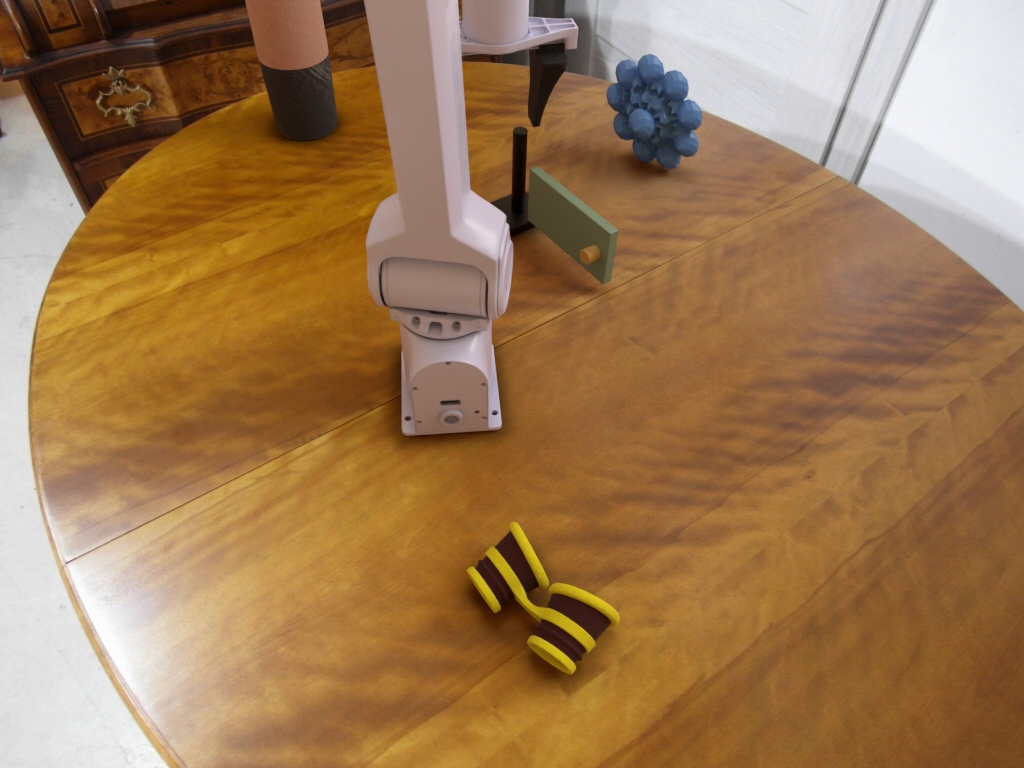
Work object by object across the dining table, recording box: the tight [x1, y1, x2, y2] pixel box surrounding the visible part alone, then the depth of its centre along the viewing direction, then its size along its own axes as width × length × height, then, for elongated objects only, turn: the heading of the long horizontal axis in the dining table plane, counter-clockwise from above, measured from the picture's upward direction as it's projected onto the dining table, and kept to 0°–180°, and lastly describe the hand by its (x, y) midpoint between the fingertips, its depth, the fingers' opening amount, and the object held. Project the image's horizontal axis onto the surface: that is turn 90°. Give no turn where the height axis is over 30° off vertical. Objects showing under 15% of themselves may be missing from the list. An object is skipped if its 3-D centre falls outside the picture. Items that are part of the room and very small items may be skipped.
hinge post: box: [489, 126, 536, 238], centre depth 77 cm, size 5×5×10 cm
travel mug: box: [244, 0, 338, 142], centre depth 84 cm, size 8×8×20 cm
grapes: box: [605, 53, 703, 170], centre depth 83 cm, size 12×7×12 cm, turn 54°
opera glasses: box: [465, 521, 621, 676], centre depth 51 cm, size 10×5×5 cm, turn 45°
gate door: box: [528, 166, 619, 286], centre depth 73 cm, size 12×2×6 cm, turn 36°
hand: (495, 125), depth 74 cm, fingers open, 7 cm apart
